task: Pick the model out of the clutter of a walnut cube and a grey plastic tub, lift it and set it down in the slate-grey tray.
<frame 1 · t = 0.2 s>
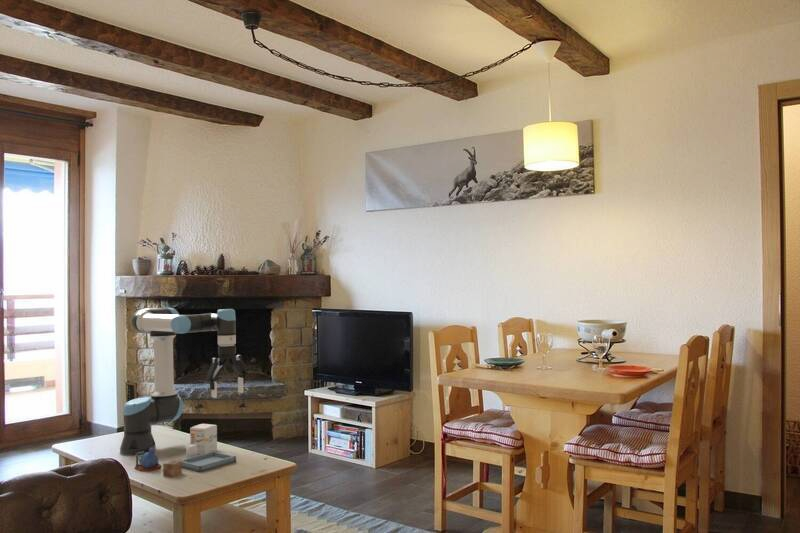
hand: (227, 395, 280), 28 cm above the table, fingers open, 13 cm apart
walnut cube: (172, 475, 260), on the table
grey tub: (192, 459, 282), on the table
tray: (207, 464, 274), on the table
model: (147, 468, 271), on the table
ink box: (203, 452, 295), on the table
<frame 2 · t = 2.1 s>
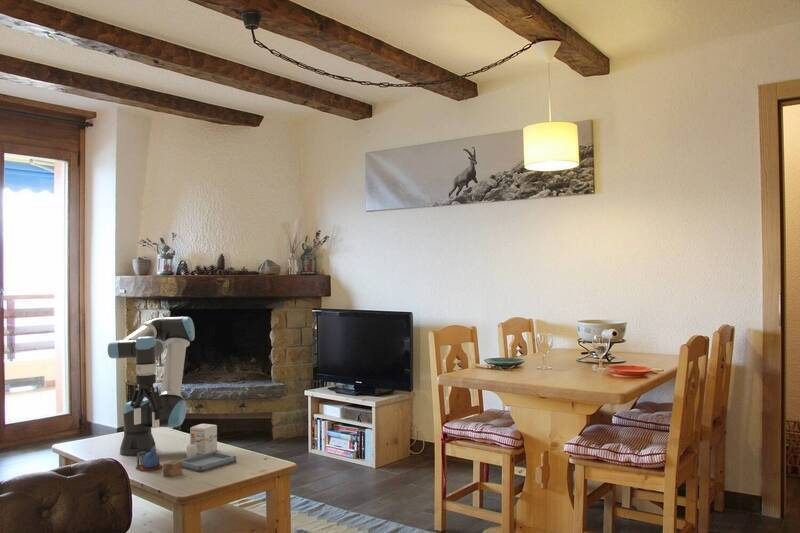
hand: (146, 425, 271), 17 cm above the table, fingers open, 13 cm apart
nothing on the table moved.
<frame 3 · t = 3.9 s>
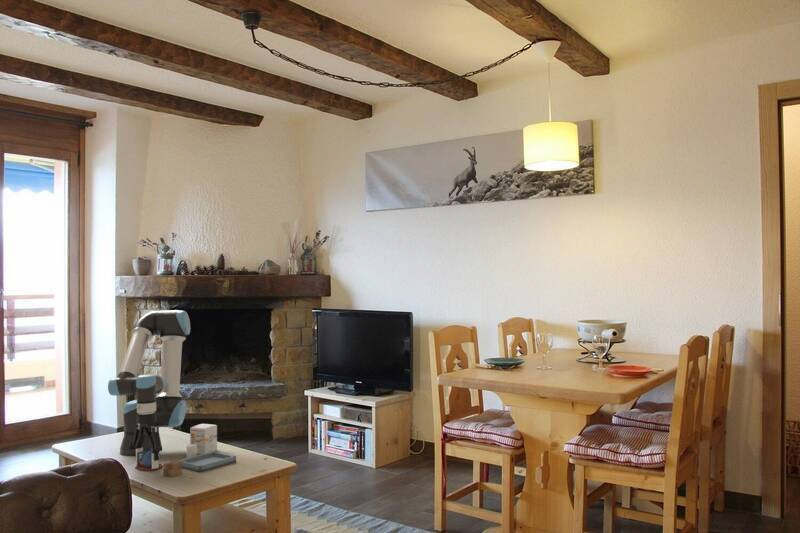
hand: (147, 466, 271), 1 cm above the table, fingers closed on model, 11 cm apart
model: (149, 467, 271), on the table, touching gripper
everything else where it was.
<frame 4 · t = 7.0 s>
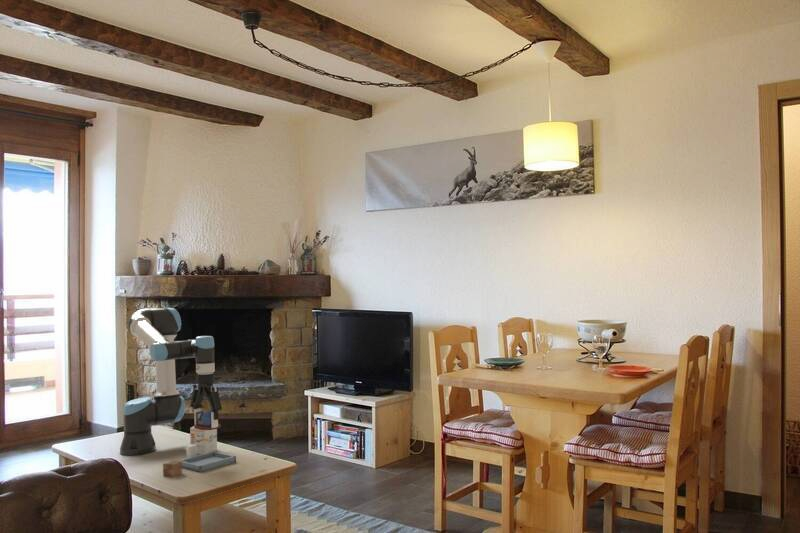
hand: (206, 425, 274), 16 cm above the table, fingers closed on model, 11 cm apart
model: (207, 427, 275), point 15 cm above the table, touching gripper
everything else where it was.
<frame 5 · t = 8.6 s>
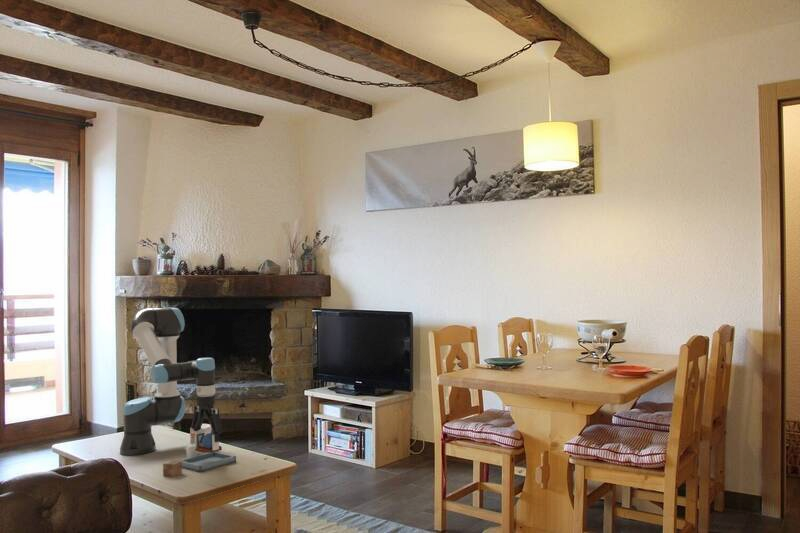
hand: (207, 447, 274), 7 cm above the table, fingers closed on model, 11 cm apart
model: (208, 449, 275), point 6 cm above the table, touching gripper
everything else where it was.
when the fingers open (3 cm above the table, at t = 10.0 s): model drops 1 cm, resting on tray.
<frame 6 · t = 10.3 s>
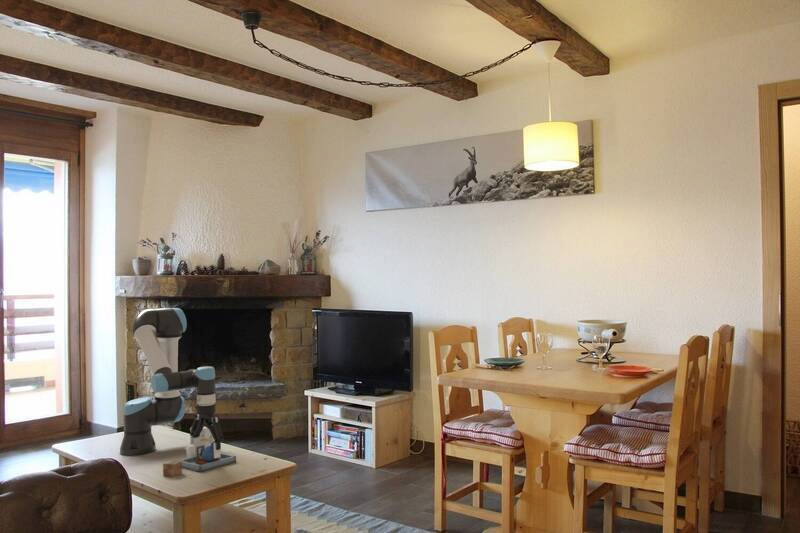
hand: (207, 455, 274), 4 cm above the table, fingers open, 13 cm apart
model: (208, 462, 274), point 1 cm above the table, touching tray
everything else where it was.
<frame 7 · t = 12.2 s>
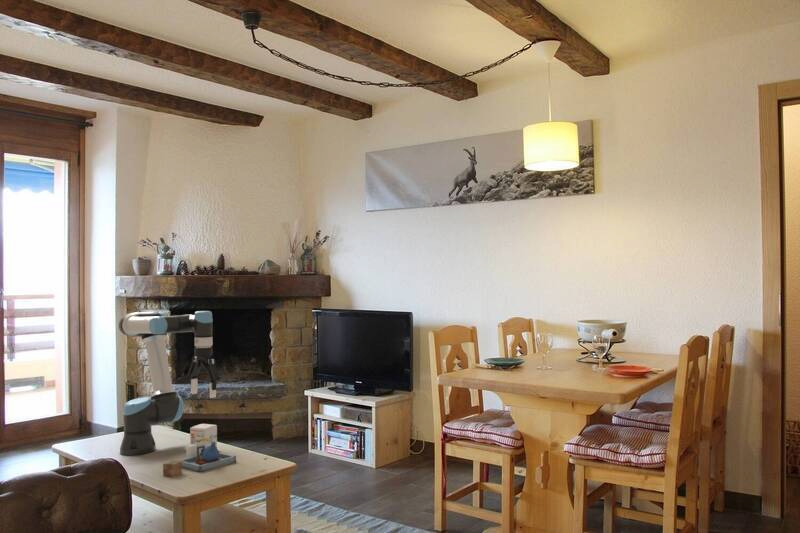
hand: (203, 395, 285), 27 cm above the table, fingers open, 13 cm apart
nothing on the table moved.
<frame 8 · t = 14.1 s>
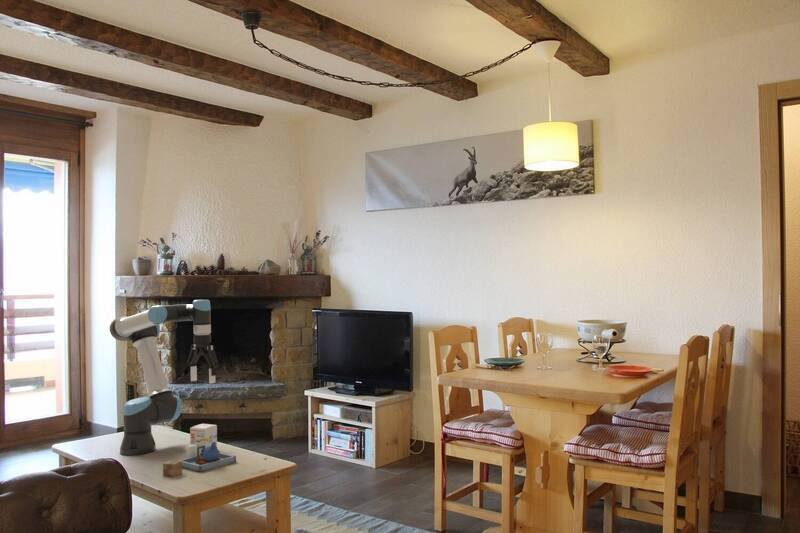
hand: (202, 382, 292), 32 cm above the table, fingers open, 13 cm apart
nothing on the table moved.
at the end: model inside the target area on the tray (0.8 cm from its centre), point 0.6 cm above the tray's base; the gripper is holding nothing; walnut cube moved 0.1 cm from its start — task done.
